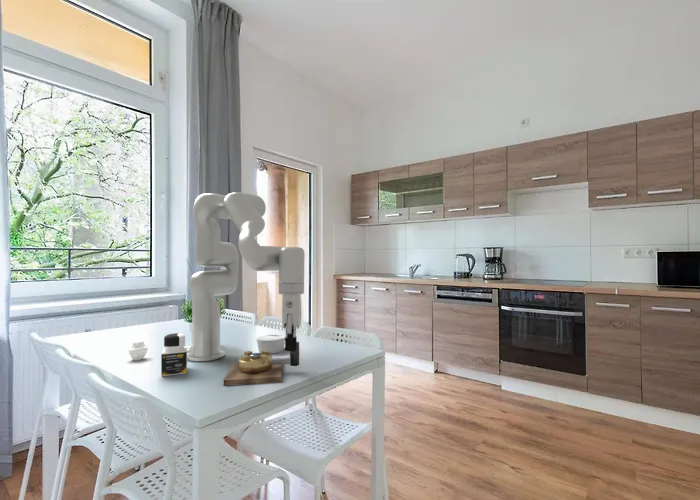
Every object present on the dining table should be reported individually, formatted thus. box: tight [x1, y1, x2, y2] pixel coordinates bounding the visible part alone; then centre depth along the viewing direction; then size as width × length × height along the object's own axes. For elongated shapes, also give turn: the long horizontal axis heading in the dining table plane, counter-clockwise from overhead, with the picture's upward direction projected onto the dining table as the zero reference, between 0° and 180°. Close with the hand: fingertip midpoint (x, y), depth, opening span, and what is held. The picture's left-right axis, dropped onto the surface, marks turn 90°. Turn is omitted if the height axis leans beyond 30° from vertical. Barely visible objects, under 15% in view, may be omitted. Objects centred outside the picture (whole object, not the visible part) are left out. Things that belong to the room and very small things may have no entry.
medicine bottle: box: [160, 332, 188, 377], centre depth 114 cm, size 7×7×12 cm
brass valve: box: [238, 340, 300, 373], centre depth 112 cm, size 18×10×7 cm, turn 97°
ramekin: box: [255, 334, 286, 355], centre depth 139 cm, size 11×11×5 cm
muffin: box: [127, 339, 149, 361], centre depth 129 cm, size 6×6×7 cm
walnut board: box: [223, 361, 284, 386], centre depth 111 cm, size 16×18×2 cm
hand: (290, 350), depth 106 cm, fingers closed
